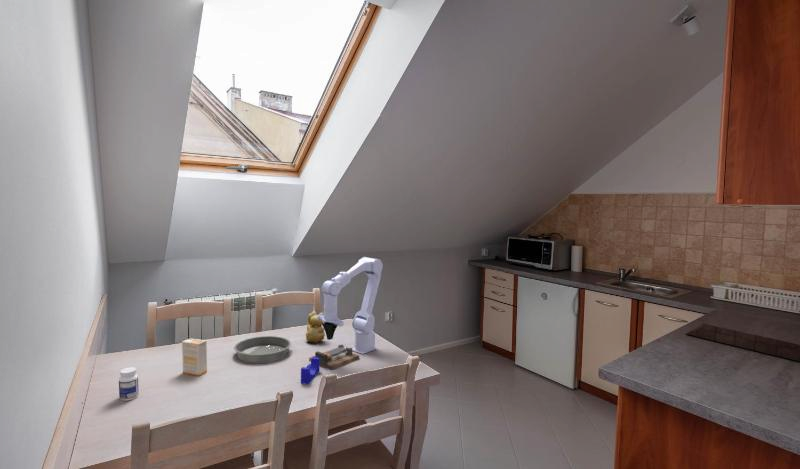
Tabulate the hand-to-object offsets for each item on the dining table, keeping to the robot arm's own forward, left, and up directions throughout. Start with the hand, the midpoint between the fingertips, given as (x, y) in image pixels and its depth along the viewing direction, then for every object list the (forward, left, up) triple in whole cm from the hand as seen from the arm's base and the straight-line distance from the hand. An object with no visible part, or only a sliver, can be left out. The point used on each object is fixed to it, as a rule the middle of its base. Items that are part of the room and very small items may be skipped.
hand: (329, 339), depth 184 cm
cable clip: (+16, +5, -11) cm, 20 cm away
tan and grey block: (-3, 0, -7) cm, 8 cm away
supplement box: (+44, -31, -10) cm, 55 cm away
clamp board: (-3, 0, -10) cm, 11 cm away
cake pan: (+14, -29, -11) cm, 34 cm away
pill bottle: (+69, -27, -10) cm, 75 cm away
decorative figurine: (-12, -24, -10) cm, 29 cm away
